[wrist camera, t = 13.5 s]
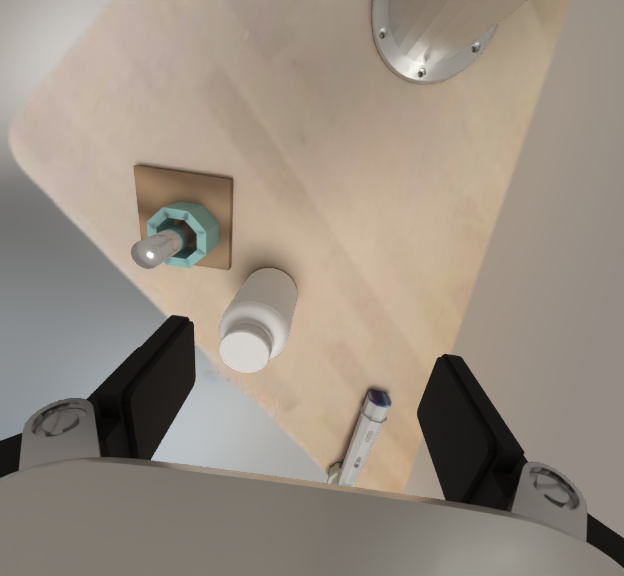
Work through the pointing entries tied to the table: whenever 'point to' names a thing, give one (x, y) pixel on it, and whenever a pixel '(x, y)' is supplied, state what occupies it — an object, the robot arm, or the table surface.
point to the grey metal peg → (162, 245)
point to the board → (192, 189)
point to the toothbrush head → (361, 439)
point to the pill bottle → (258, 320)
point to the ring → (197, 221)
